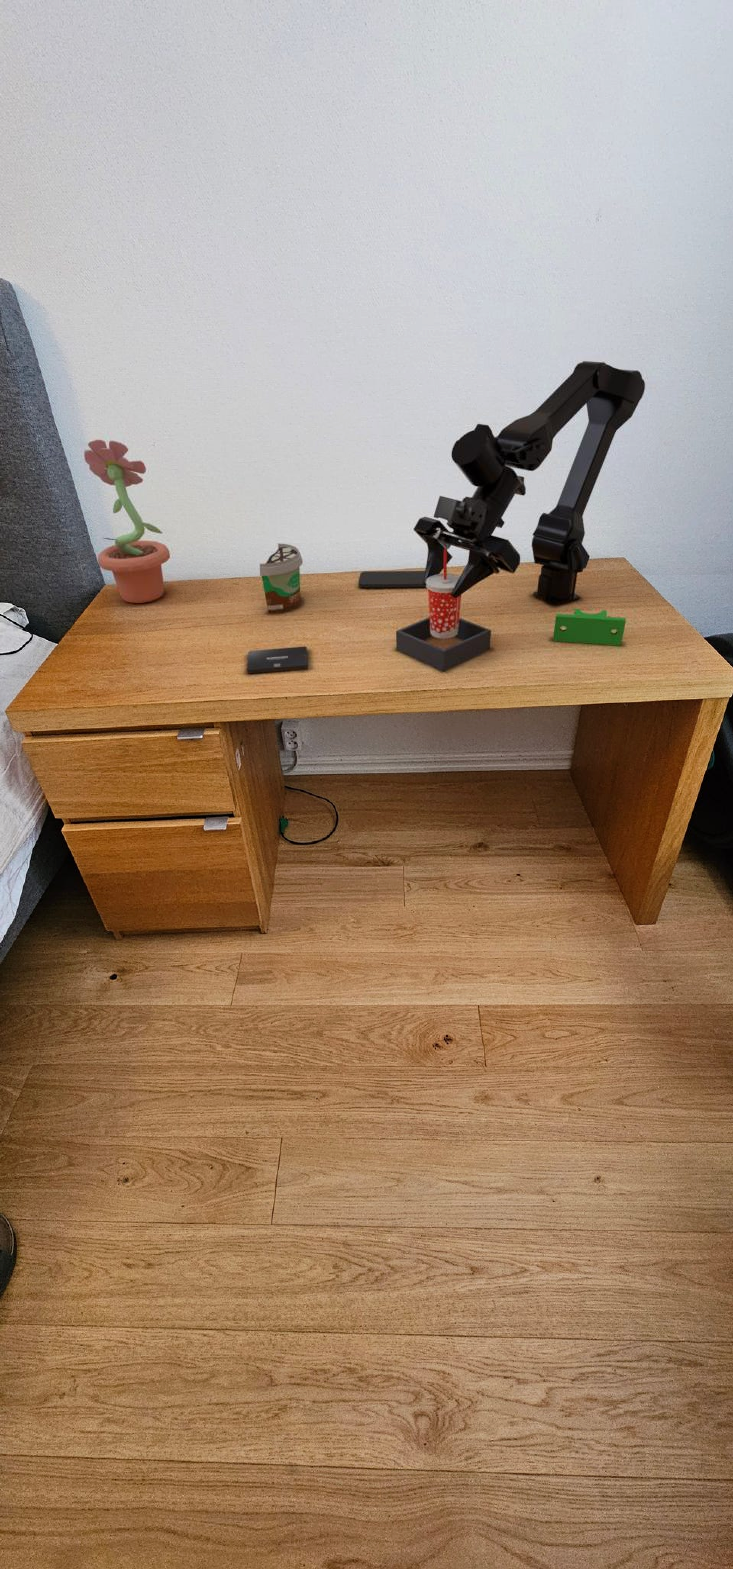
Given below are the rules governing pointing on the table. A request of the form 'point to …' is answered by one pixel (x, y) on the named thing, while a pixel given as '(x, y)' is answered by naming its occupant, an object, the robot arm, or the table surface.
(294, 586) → the food container
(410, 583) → the phone
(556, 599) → the robot arm
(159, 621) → the table surface
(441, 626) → the beverage cup
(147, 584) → the decorative flower
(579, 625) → the pipe clamp
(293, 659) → the solid state drive
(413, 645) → the box
